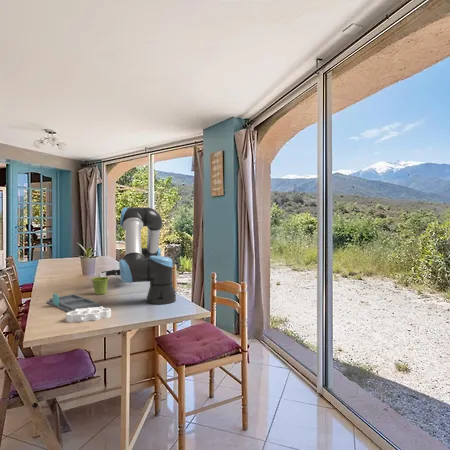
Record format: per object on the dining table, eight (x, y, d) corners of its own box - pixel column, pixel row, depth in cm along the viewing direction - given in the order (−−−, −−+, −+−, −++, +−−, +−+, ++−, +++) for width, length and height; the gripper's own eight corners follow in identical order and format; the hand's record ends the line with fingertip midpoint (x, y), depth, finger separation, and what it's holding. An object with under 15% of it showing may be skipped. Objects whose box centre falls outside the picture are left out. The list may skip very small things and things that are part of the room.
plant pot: (103, 296, 181) (103, 280, 180) (88, 295, 183) (88, 279, 182) (112, 292, 190) (112, 277, 190) (97, 291, 192) (97, 276, 192)
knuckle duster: (109, 311, 153) (111, 320, 140) (67, 315, 146) (65, 325, 133) (109, 304, 153) (111, 312, 139) (67, 308, 146) (64, 317, 133)
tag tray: (100, 306, 160) (100, 294, 160) (69, 312, 149) (69, 300, 149) (76, 297, 178) (75, 286, 178) (46, 302, 167) (46, 291, 167)
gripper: (144, 277, 214) (128, 283, 194) (109, 275, 219) (91, 282, 198) (144, 265, 214) (128, 271, 193) (109, 264, 219) (91, 269, 198)
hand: (109, 276), depth 196 cm, fingers open, 13 cm apart
